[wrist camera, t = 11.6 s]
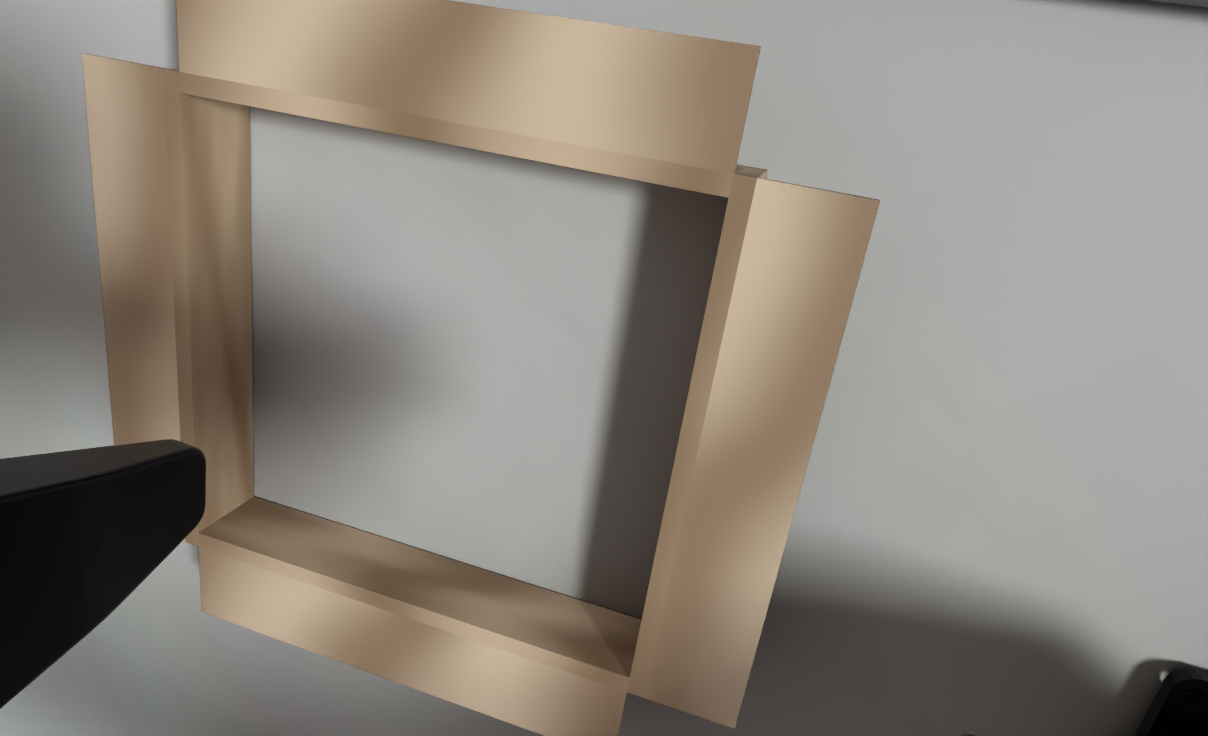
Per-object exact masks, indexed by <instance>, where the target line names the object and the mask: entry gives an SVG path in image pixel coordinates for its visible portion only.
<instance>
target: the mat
mask: <svg viewBox="0 0 1208 736" xmlns="http://www.w3.org/2000/svg"><path fill="white" fill-rule="evenodd" d="M1147 1H1156V2H1164V3H1172V4H1180V5H1189V6H1197V7H1205V8H1208V0H1147Z"/></svg>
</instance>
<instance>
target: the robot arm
mask: <svg viewBox="0 0 1208 736" xmlns="http://www.w3.org/2000/svg"><path fill="white" fill-rule="evenodd" d="M205 507H206V457H205V455H204V453H203V451H201V450H200V449H199V448H197V447H194V446H192V445H189V444H186V443H184V442H181V441H178V440H174V439H165V440H156V441H148V442H139V443H131V444H123V445H114V446H106V447H97V448H89V449H81V450H72V451H64V452H55V453H47V454H38V455H30V456H22V457H13V458H5V459H0V709H1V708H2V707H3V706H4V705H5V704H6V703H8V702H9V701H10V700H11V699H12V698H13V697H15V696H16V695H17V694H18V693H19V692H20V691H22V690H23V689H24V688H25V687H26V686H28V685H29V684H30V683H31V682H32V681H33V680H35V679H36V678H37V677H38V676H39V675H40V674H42V673H43V672H44V671H45V670H46V669H47V668H49V667H50V666H51V665H52V664H53V663H55V662H56V661H57V660H58V659H59V658H60V657H62V656H63V655H64V654H65V653H66V652H67V651H69V650H70V649H71V648H72V647H73V646H74V645H76V644H77V643H78V642H79V641H80V640H82V639H83V638H84V637H85V636H86V635H87V634H89V633H90V632H91V631H92V630H93V629H94V628H95V627H96V626H97V625H99V624H100V623H101V622H102V621H103V620H104V619H105V618H106V617H107V616H108V615H109V614H110V613H111V612H112V611H114V610H115V609H116V608H117V607H118V606H119V605H120V604H121V603H122V602H123V601H124V600H125V599H126V598H127V597H128V596H129V595H130V594H131V593H132V592H133V591H134V590H135V589H136V587H137V586H138V585H139V584H140V583H141V582H142V581H143V580H144V579H145V578H146V577H147V576H148V575H149V574H150V573H151V572H152V571H153V570H154V569H155V568H156V567H157V566H158V565H159V564H160V563H161V562H162V561H163V560H164V559H165V558H166V557H167V556H168V555H169V554H170V553H171V552H172V551H173V550H174V549H175V548H176V547H177V546H178V545H179V544H180V543H181V542H182V541H183V540H184V539H185V538H186V537H187V536H188V535H189V534H190V533H191V532H192V531H193V530H194V529H195V527H196V526H197V525H198V524H199V522H200V521H201V519H202V517H203V515H204V511H205ZM1191 687H1194V688H1199V689H1198V690H1197V691H1196V692H1194V693H1190V694H1185V693H1182V692H1183V691H1184V690H1185V689H1188V688H1191ZM961 736H981V735H979V734H976V733H973V732H967V733H963V734H962V735H961ZM1133 736H1208V673H1207V672H1204V671H1200V670H1197V669H1191V668H1182V669H1177V670H1175V671H1173V672H1171V673H1169V674H1168V675H1167V677H1166V678H1165V679H1164V681H1163V683H1162V685H1161V687H1160V689H1159V691H1158V693H1157V695H1156V697H1155V698H1154V700H1153V702H1152V704H1151V706H1150V708H1149V710H1148V712H1147V714H1146V716H1145V718H1144V720H1143V722H1142V724H1141V726H1140V727H1139V729H1138V731H1137V733H1136V734H1134V735H1133Z"/></svg>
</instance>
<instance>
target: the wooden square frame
mask: <svg viewBox="0 0 1208 736" xmlns="http://www.w3.org/2000/svg"><path fill="white" fill-rule="evenodd" d="M176 9H177V33H178V57H179V70H175V69H166V68H160V67H155V66H149V65H144V64H138V63H133V62H128V61H122V60H117V59H111V58H106V57H100V56H95V55H89V54H82V59H83V71H84V83H85V95H86V107H87V120H88V132H89V144H90V156H91V168H92V180H93V193H94V205H95V217H96V229H97V241H98V253H99V265H100V278H101V290H102V302H103V314H104V326H105V338H106V351H107V363H108V375H109V387H110V399H111V411H112V424H113V436H114V445H123V444H131V443H139V442H148V441H156V440H165V439H174V440H178V441H181V442H184V443H186V444H189V445H192V446H194V447H197V448H199V449H200V450H201V451H203V453H204V455H205V457H206V507H205V511H204V515H203V517H202V519H201V521H200V522H199V524H198V525H197V526H196V527H195V529H194V530H193V531H192V532H191V533H190V534H189V535H188V536H187V537H186V538H185V539H184V540H183V541H184V542H187V543H190V544H192V545H195V546H198V547H199V567H200V591H201V612H203V613H206V614H209V615H212V616H215V617H217V618H220V619H223V620H226V621H228V622H231V623H234V624H237V625H239V626H242V627H245V628H248V629H250V630H253V631H256V632H259V633H261V634H264V635H267V636H270V637H273V638H275V639H278V640H281V641H284V642H286V643H289V644H292V645H295V646H297V647H300V648H303V649H306V650H308V651H311V652H314V653H317V654H320V655H322V656H325V657H328V658H331V659H333V660H336V661H339V662H342V663H344V664H347V665H350V666H353V667H355V668H358V669H361V670H364V671H367V672H369V673H372V674H375V675H378V676H380V677H383V678H386V679H389V680H391V681H394V682H397V683H400V684H402V685H405V686H408V687H411V688H414V689H416V690H419V691H422V692H425V693H427V694H430V695H433V696H436V697H438V698H441V699H444V700H447V701H449V702H452V703H455V704H458V705H461V706H463V707H466V708H469V709H472V710H474V711H477V712H480V713H483V714H485V715H488V716H491V717H494V718H496V719H499V720H502V721H505V722H507V723H510V724H513V725H516V726H519V727H521V728H524V729H527V730H530V731H532V732H535V733H538V734H541V735H543V736H619V731H620V726H621V721H622V716H623V711H624V707H625V702H626V697H627V693H630V694H633V695H636V696H639V697H642V698H645V699H648V700H651V701H654V702H656V703H659V704H662V705H665V706H668V707H671V708H674V709H677V710H680V711H683V712H686V713H689V714H692V715H695V716H698V717H701V718H703V719H706V720H709V721H712V722H715V723H718V724H721V725H724V726H727V727H730V728H733V729H735V726H736V722H737V719H738V715H739V711H740V708H741V704H742V701H743V697H744V693H745V690H746V686H747V682H748V679H749V675H750V672H751V668H752V664H753V661H754V657H755V653H756V650H757V646H758V642H759V639H760V635H761V632H762V628H763V624H764V621H765V617H766V613H767V610H768V606H769V603H770V599H771V595H772V592H773V588H774V584H775V581H776V577H777V573H778V570H779V566H780V563H781V559H782V555H783V552H784V548H785V544H786V541H787V537H788V533H789V530H790V526H791V523H792V519H793V515H794V512H795V508H796V504H797V501H798V497H799V494H800V490H801V486H802V483H803V479H804V475H805V472H806V468H807V464H808V461H809V457H810V454H811V450H812V446H813V443H814V439H815V435H816V432H817V428H818V424H819V421H820V417H821V414H822V410H823V406H824V403H825V399H826V395H827V392H828V388H829V385H830V381H831V377H832V374H833V370H834V366H835V363H836V359H837V355H838V352H839V348H840V345H841V341H842V337H843V334H844V330H845V326H846V323H847V319H848V316H849V312H850V308H851V305H852V301H853V297H854V294H855V290H856V286H857V283H858V279H859V276H860V272H861V268H862V265H863V261H864V257H865V254H866V250H867V246H868V243H869V239H870V236H871V232H872V228H873V225H874V221H875V217H876V214H877V210H878V207H879V203H880V200H878V199H872V198H867V197H861V196H856V195H851V194H845V193H840V192H834V191H829V190H823V189H818V188H812V187H807V186H802V185H796V184H791V183H785V182H780V181H774V180H769V179H766V175H767V171H768V170H764V169H759V168H753V167H748V166H742V165H737V159H738V155H739V150H740V145H741V140H742V135H743V130H744V126H745V121H746V116H747V111H748V106H749V101H750V97H751V92H752V87H753V82H754V77H755V72H756V67H757V63H758V58H759V53H760V48H761V47H760V46H755V45H748V44H741V43H734V42H728V41H721V40H714V39H707V38H700V37H694V36H687V35H680V34H673V33H666V32H660V31H653V30H646V29H639V28H632V27H626V26H619V25H612V24H605V23H598V22H592V21H585V20H578V19H571V18H564V17H558V16H551V15H544V14H537V13H531V12H524V11H517V10H510V9H503V8H497V7H490V6H483V5H476V4H469V3H463V2H456V1H449V0H176ZM250 106H251V107H257V108H262V109H267V110H272V111H277V112H283V113H288V114H293V115H298V116H304V117H309V118H314V119H319V120H325V121H330V122H335V123H340V124H345V125H351V126H356V127H361V128H366V129H372V130H377V131H382V132H387V133H393V134H398V135H403V136H408V137H413V138H419V139H424V140H429V141H434V142H440V143H445V144H450V145H455V146H460V147H466V148H471V149H476V150H481V151H487V152H492V153H497V154H502V155H508V156H513V157H518V158H523V159H528V160H534V161H539V162H544V163H549V164H555V165H560V166H565V167H570V168H576V169H581V170H586V171H591V172H596V173H602V174H607V175H612V176H617V177H623V178H628V179H633V180H638V181H644V182H649V183H654V184H659V185H664V186H670V187H675V188H680V189H685V190H691V191H696V192H701V193H706V194H712V195H717V196H722V197H727V198H728V203H727V208H726V213H725V217H724V222H723V227H722V232H721V237H720V242H719V246H718V251H717V256H716V261H715V266H714V271H713V276H712V280H711V285H710V290H709V295H708V300H707V305H706V310H705V314H704V319H703V324H702V329H701V334H700V339H699V344H698V348H697V353H696V358H695V363H694V368H693V373H692V378H691V382H690V387H689V392H688V397H687V402H686V407H685V412H684V416H683V421H682V426H681V431H680V436H679V441H678V445H677V450H676V455H675V460H674V465H673V470H672V475H671V479H670V484H669V489H668V494H667V499H666V504H665V509H664V513H663V518H662V523H661V528H660V533H659V538H658V543H657V547H656V552H655V557H654V562H653V567H652V572H651V577H650V581H649V586H648V591H647V596H646V601H645V606H644V610H643V615H642V620H641V619H638V618H635V617H631V616H628V615H625V614H622V613H619V612H616V611H613V610H609V609H606V608H603V607H600V606H597V605H594V604H590V603H587V602H584V601H581V600H578V599H575V598H572V597H568V596H565V595H562V594H559V593H556V592H553V591H550V590H546V589H543V588H540V587H537V586H534V585H531V584H528V583H524V582H521V581H518V580H515V579H512V578H509V577H506V576H502V575H499V574H496V573H493V572H490V571H487V570H484V569H480V568H477V567H474V566H471V565H468V564H465V563H462V562H458V561H455V560H452V559H449V558H446V557H443V556H440V555H436V554H433V553H430V552H427V551H424V550H421V549H418V548H414V547H411V546H408V545H405V544H402V543H399V542H396V541H392V540H389V539H386V538H383V537H380V536H377V535H374V534H370V533H367V532H364V531H361V530H358V529H355V528H352V527H348V526H345V525H342V524H339V523H336V522H333V521H330V520H326V519H323V518H320V517H317V516H314V515H311V514H308V513H304V512H301V511H298V510H295V509H292V508H289V507H285V506H282V505H279V504H276V503H273V502H270V501H267V500H263V499H260V498H257V497H254V449H253V358H252V267H251V176H250Z"/></svg>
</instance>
